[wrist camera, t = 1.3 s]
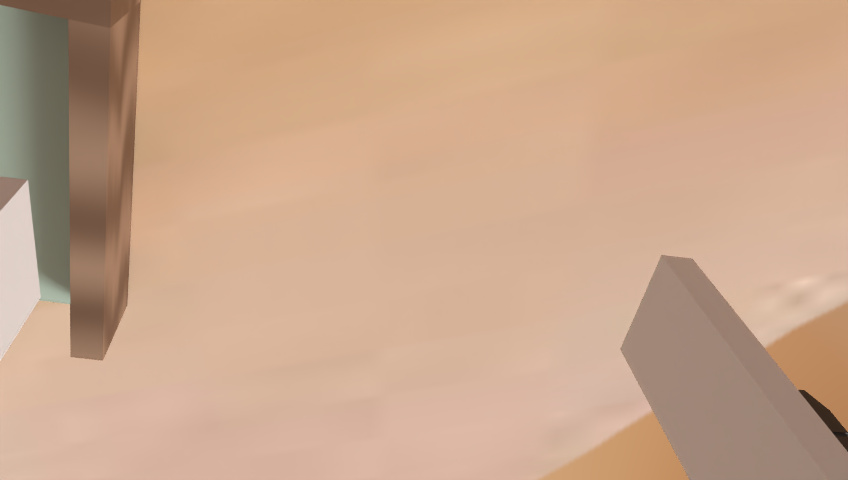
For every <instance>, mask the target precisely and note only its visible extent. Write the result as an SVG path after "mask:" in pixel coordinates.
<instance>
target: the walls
mask: <svg viewBox="0 0 848 480" xmlns="http://www.w3.org/2000/svg"><path fill="white" fill-rule="evenodd" d="M140 2H141V0H0V5H3V6H8V7H12V8H17V9H22V10H27V11H31V12H36V13H41V14H46V15H50V16H55V17H60V18H65V19H68V52H69V194H70V336H71V357H76V358H85V359H94V360H103V359H104V356H105V354H106V352H107V350H108V347H109V345H110V343H111V341H112V338H113V336H114V334H115V332H116V329H117V327H118V325H119V322H120V320H121V318H122V316H123V313H124V311H125V309H126V307H127V299H128V277H129V254H130V231H131V208H132V185H133V162H134V139H135V116H136V93H137V70H138V47H139V24H140Z"/></svg>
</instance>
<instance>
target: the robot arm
mask: <svg viewBox="0 0 848 480" xmlns="http://www.w3.org/2000/svg"><path fill="white" fill-rule="evenodd" d="M40 298H41V295H40V286H39V277H38V268H37V259H36V249H35V240H34V231H33V222H32V213H31V204H30V194H29V185H28V180H26V179H17V178H9V177H0V361H1V359H2V358H3V356H4V354H5V353H6V351H7V350H8V348H9V347H10V345H11V343H12V342H13V340H14V339H15V337H16V336H17V334H18V332H19V331H20V329H21V328H22V326H23V325H24V323H25V321H26V320H27V318H28V317H29V315H30V314H31V312H32V310H33V309H34V307H35V306H36V304H37V302H38V301H39V299H40ZM621 351H622V353H623V355H624V357H625V359H626V361H627V363H628V364H629V366H630V368H631V370H632V372H633V374H634V376H635V378H636V380H637V381H638V383H639V385H640V387H641V389H642V391H643V393H644V395H645V397H646V398H647V400H648V402H649V404H650V406H651V408H652V410H653V412H654V414H655V415H656V417H657V419H658V421H659V423H660V425H661V427H662V429H663V431H664V432H665V434H666V436H667V438H668V440H669V442H670V444H671V445H672V447H673V449H674V451H675V453H676V455H677V457H678V459H679V460H680V462H681V465H682V466H683V468H684V470H685V472H686V474H687V476H688V478H689V479H690V480H848V432H847V431H846V430H845V428H844V427H843V426H842V425H841V424H840V422H839V421H838V420H837V419H836V417H835V416H834V415H833V414H832V413H831V412H830V410H828V409H827V408H826V407H825V406H823V405H822V404H821V403H820V402H818V401H817V400H816V399H815V398H813V397H812V396H811V395H809V394H808V393H807V392H806V391H804V390H797V388H796V387H795V386H794V384H793V383H792V382H791V381H790V379H789V378H788V377H787V376H786V374H785V373H784V372H783V371H782V370H781V368H780V367H779V366H778V365H777V363H776V362H775V361H774V360H773V359H772V357H771V356H770V355H769V353H768V352H767V351H766V350H765V348H764V347H763V346H762V345H761V343H760V342H759V341H758V340H757V338H756V337H755V336H754V335H753V333H752V332H751V331H750V330H749V329H748V327H747V326H746V325H745V324H744V322H743V321H742V320H741V319H740V317H739V316H738V315H737V314H736V312H735V311H734V310H733V309H732V307H731V306H730V305H729V304H728V302H727V301H726V300H725V299H724V297H723V296H722V295H721V294H720V292H719V291H718V290H717V289H716V287H715V286H714V285H713V284H712V283H711V281H710V280H709V279H708V278H707V276H706V275H705V274H704V273H703V271H702V270H701V269H700V268H699V266H698V265H697V264H696V263H695V261H694V260H693V259H690V258H682V257H673V256H665V255H661V258H660V260H659V262H658V265H657V267H656V269H655V271H654V274H653V276H652V278H651V281H650V283H649V285H648V287H647V290H646V292H645V294H644V296H643V299H642V301H641V303H640V306H639V308H638V310H637V312H636V315H635V317H634V319H633V322H632V324H631V326H630V328H629V331H628V333H627V335H626V337H625V340H624V342H623V344H622V347H621Z"/></svg>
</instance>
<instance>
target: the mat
mask: <svg viewBox="0 0 848 480" xmlns="http://www.w3.org/2000/svg"><path fill="white" fill-rule="evenodd" d="M0 177H9V178H17V179H26V180H28V185H29V194H30V204H31V213H32V222H33V231H34V240H35V249H36V259H37V268H38V277H39V286H40V295H41V298H40V299H39V300H42V301H50V302H58V303H66V304H70V194H69V52H68V19H65V18H60V17H55V16H50V15H46V14H41V13H36V12H31V11H27V10H22V9H17V8H12V7H8V6H3V5H0Z"/></svg>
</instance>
